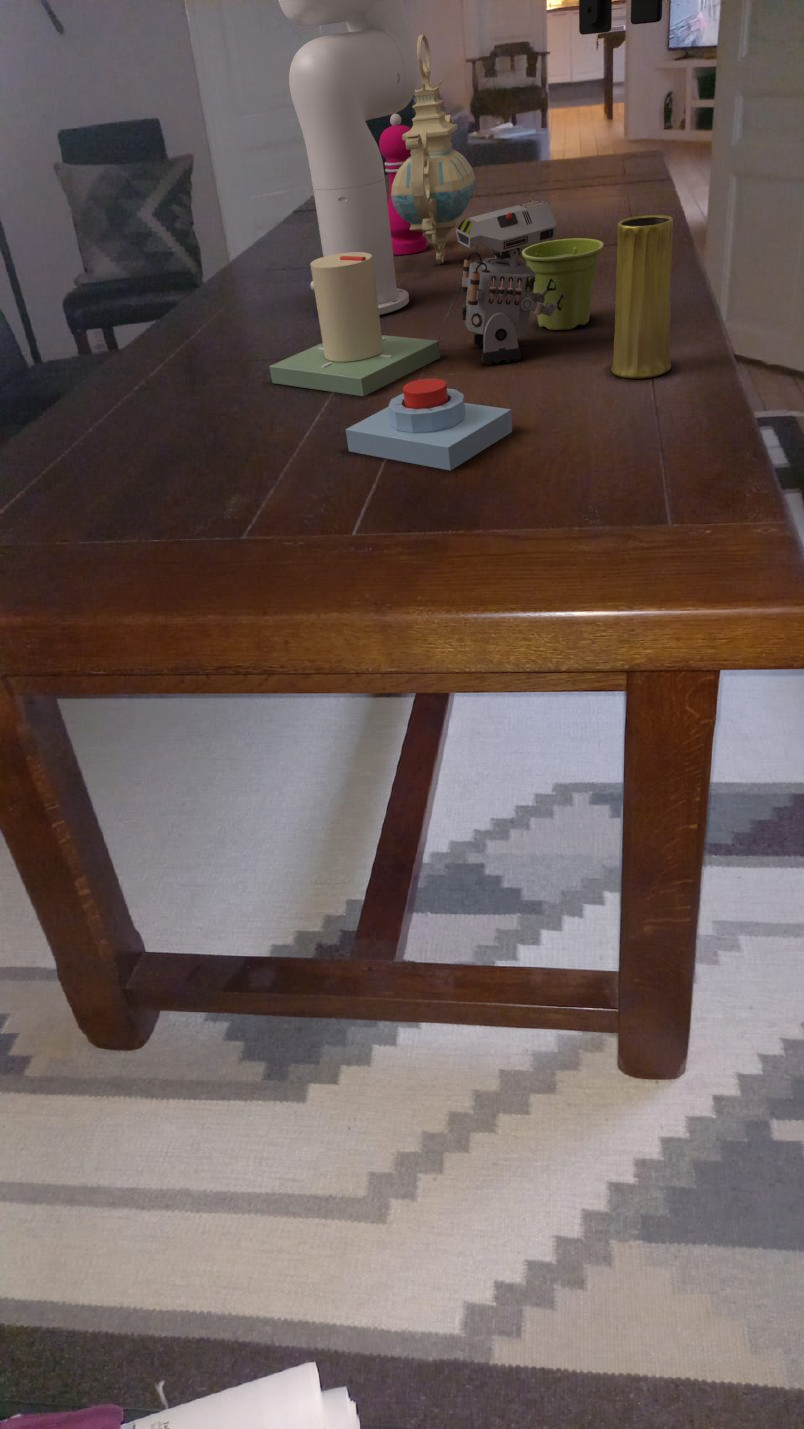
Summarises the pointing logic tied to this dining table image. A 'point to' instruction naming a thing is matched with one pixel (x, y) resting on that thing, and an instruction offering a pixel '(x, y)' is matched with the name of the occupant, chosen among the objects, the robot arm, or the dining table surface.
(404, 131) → the pepper mill
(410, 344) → the swivel stand
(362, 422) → the button box
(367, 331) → the cream cylinder red stripe
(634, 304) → the vase
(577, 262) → the plant pot
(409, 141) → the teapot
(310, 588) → the dining table surface
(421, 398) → the button
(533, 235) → the figurine
